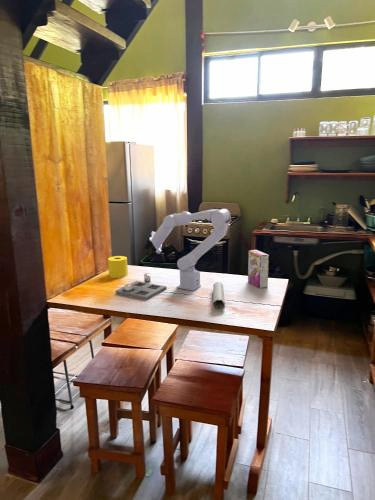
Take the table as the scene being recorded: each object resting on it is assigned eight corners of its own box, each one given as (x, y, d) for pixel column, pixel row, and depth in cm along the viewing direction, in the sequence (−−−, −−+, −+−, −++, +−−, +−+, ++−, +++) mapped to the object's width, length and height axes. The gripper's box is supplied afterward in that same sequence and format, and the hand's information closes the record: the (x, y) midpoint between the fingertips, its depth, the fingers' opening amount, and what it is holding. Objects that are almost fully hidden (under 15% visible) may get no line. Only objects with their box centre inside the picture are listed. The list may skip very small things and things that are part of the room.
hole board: (166, 289, 170) (166, 286, 170) (146, 300, 157) (146, 297, 157) (136, 283, 179) (136, 280, 179) (115, 293, 166) (115, 290, 165)
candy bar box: (247, 281, 180) (247, 250, 176) (255, 280, 181) (256, 249, 178) (259, 288, 170) (260, 255, 166) (268, 287, 171) (269, 254, 167)
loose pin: (151, 281, 183) (151, 273, 182) (148, 283, 180) (147, 275, 179) (146, 280, 184) (146, 273, 183) (143, 282, 181) (142, 274, 180)
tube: (211, 282, 169) (210, 301, 144) (221, 278, 168) (222, 297, 144) (214, 292, 170) (214, 313, 145) (225, 288, 169) (227, 309, 145)
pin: (133, 292, 167) (133, 284, 166) (129, 294, 164) (128, 286, 163) (128, 291, 168) (127, 283, 168) (123, 293, 166) (123, 285, 165)
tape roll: (120, 271, 201) (119, 255, 199) (131, 274, 194) (130, 258, 192) (105, 275, 194) (104, 258, 192) (116, 279, 187) (115, 261, 185)
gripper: (151, 222, 177) (138, 242, 183) (157, 241, 166) (142, 261, 172) (163, 227, 180) (149, 246, 186) (169, 246, 170) (155, 265, 176)
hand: (147, 253), depth 180 cm, fingers open, 7 cm apart
